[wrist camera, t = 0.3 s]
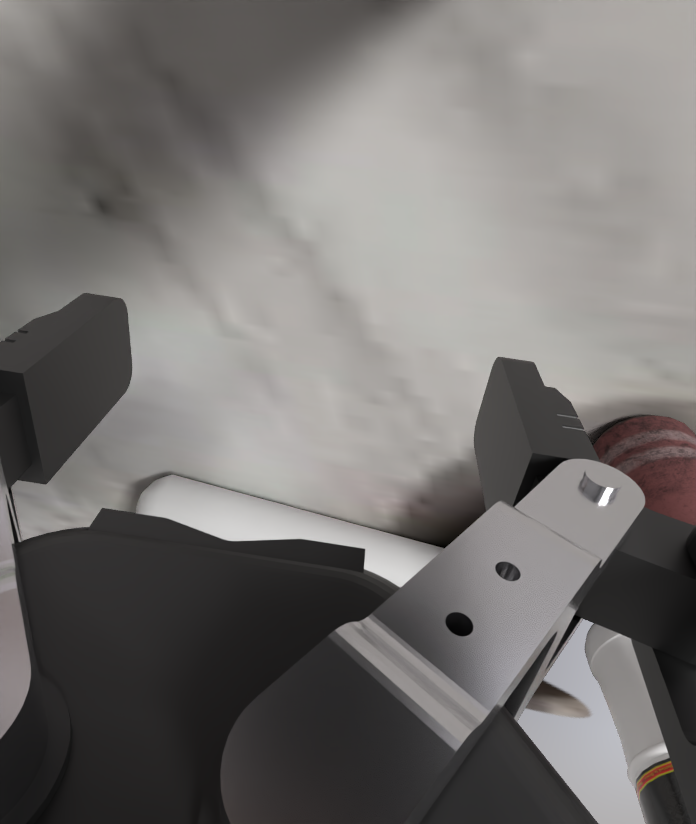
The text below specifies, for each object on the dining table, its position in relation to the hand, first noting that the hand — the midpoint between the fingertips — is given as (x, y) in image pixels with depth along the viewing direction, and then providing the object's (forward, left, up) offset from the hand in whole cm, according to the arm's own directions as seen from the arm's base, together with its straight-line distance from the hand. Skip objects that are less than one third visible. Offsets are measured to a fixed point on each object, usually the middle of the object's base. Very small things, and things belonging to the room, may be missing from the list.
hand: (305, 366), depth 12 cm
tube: (+23, +1, -18) cm, 29 cm away
